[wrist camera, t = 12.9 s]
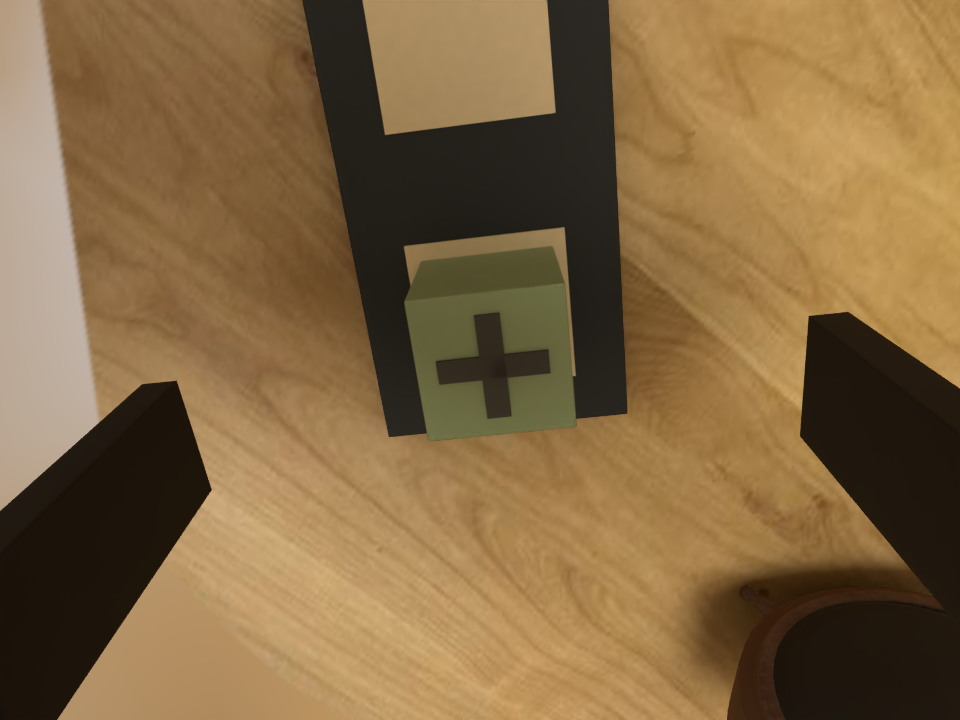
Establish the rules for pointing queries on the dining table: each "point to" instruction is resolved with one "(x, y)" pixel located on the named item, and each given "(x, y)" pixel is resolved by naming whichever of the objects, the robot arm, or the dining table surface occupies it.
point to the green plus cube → (492, 344)
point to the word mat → (475, 163)
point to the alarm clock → (849, 658)
